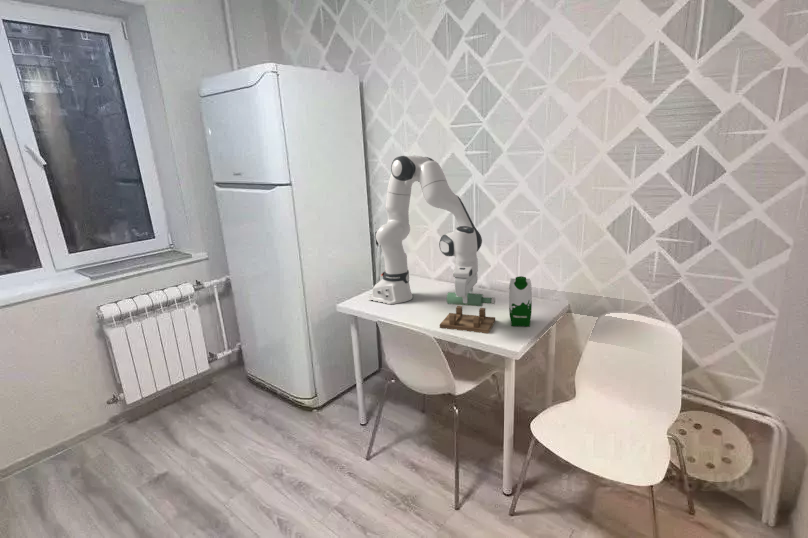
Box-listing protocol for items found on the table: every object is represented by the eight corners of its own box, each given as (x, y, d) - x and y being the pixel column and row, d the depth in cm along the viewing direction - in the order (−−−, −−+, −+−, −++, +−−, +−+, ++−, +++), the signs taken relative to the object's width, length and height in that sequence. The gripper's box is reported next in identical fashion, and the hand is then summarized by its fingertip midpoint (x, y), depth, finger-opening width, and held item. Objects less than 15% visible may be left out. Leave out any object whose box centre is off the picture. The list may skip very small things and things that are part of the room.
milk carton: (509, 327, 168) (509, 279, 162) (508, 318, 176) (509, 272, 171) (532, 327, 165) (532, 279, 160) (530, 318, 174) (531, 272, 169)
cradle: (488, 333, 163) (487, 320, 162) (439, 327, 171) (439, 315, 170) (495, 320, 174) (495, 308, 173) (449, 316, 183) (449, 304, 181)
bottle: (445, 299, 170) (448, 289, 173) (448, 306, 174) (451, 296, 177) (492, 302, 162) (494, 292, 165) (494, 309, 166) (496, 299, 169)
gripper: (466, 260, 177) (467, 291, 180) (451, 274, 159) (452, 308, 163) (480, 260, 174) (481, 292, 178) (467, 275, 156) (468, 309, 160)
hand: (467, 300), depth 170 cm, fingers closed on bottle, 5 cm apart
